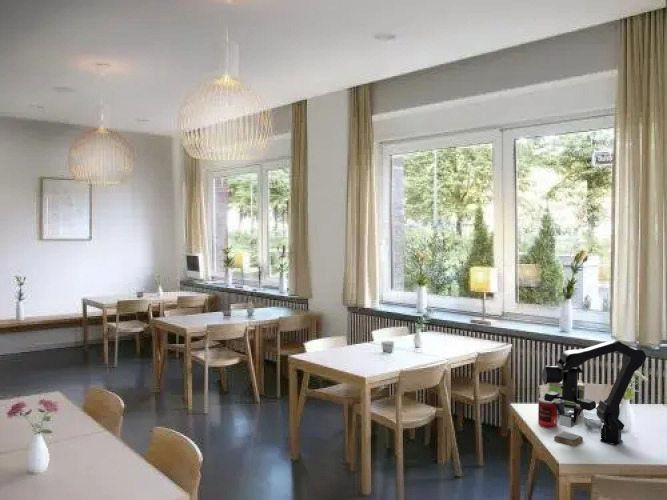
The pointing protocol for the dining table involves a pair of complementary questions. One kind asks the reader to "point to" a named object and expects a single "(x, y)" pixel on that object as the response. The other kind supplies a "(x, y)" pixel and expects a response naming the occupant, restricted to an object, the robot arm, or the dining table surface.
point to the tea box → (557, 388)
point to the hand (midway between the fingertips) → (569, 421)
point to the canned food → (547, 413)
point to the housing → (568, 419)
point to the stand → (568, 438)
